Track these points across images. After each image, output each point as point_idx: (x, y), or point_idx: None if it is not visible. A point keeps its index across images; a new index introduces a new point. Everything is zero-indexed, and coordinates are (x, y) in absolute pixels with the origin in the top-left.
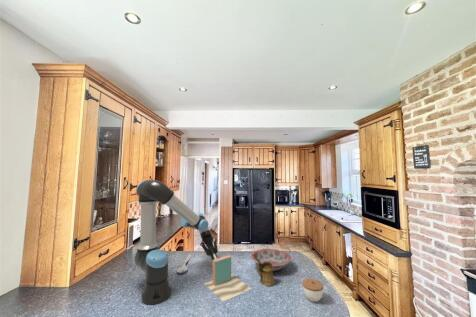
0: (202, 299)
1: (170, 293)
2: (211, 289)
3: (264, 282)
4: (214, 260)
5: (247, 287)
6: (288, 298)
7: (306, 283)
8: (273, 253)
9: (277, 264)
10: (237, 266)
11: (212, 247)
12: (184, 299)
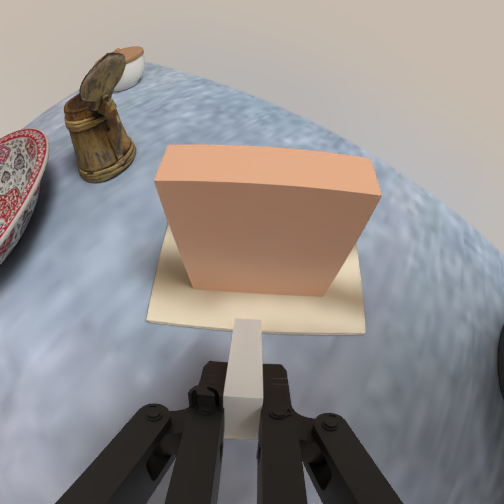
0: (404, 232)
1: (502, 342)
2: (352, 252)
3: (131, 142)
4: (365, 178)
5: None
6: (157, 97)
7: (126, 55)
8: None
9: (35, 132)
10: (46, 370)
11: (210, 500)
12: (462, 278)
